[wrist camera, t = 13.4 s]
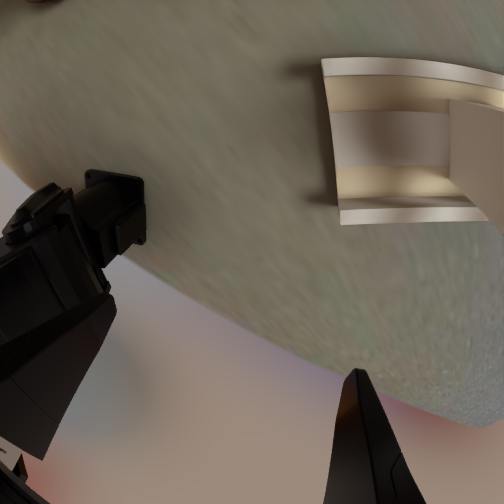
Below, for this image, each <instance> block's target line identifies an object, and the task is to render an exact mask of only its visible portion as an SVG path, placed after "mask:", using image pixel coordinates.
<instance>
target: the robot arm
mask: <svg viewBox="0 0 504 504" xmlns="http://www.w3.org/2000/svg"><path fill="white" fill-rule="evenodd" d="M85 181H86V188H85V189H83V190H82V191H80V192H79V193H77V194H76V195H74V194H73V191H72V188H67V189H61V187H58V186H57V185H56V184H55V183H54V182H52V183H49V184H48V185H46V186H44V187H43V188H41V189H39V190H38V191H36V192H35V193H33V194H32V195H31V196H30V197H29V198H28V199H27V200H26V201H25V202H24V203H23V204H22V205H21V206H20V207H19V208H18V209H17V210H16V212H15V214H14V215H13V216H12V218H11V219H10V220H9V222H8V223H7V225H6V226H5V228H4V229H3V231H2V234H3V237H2V238H0V504H50V503H49V502H47V501H46V500H45V499H43V498H42V497H41V496H40V495H38V494H37V493H36V492H35V491H33V490H32V489H31V488H30V487H29V486H27V485H26V484H25V482H26V480H27V478H28V475H27V472H26V468H25V464H24V460H23V457H22V451H25V452H27V453H28V454H30V455H32V456H34V457H36V458H38V459H40V460H43V458H44V456H45V454H46V452H47V450H48V447H49V445H50V443H51V441H52V439H53V437H54V435H55V433H56V430H57V428H58V426H59V424H60V422H61V420H62V418H63V416H64V414H65V412H66V410H67V408H68V406H69V404H70V402H71V400H72V398H73V396H74V394H75V393H76V391H77V389H78V387H79V385H80V383H81V381H82V380H83V378H84V376H85V374H86V372H87V371H88V369H89V367H90V365H91V364H92V362H93V360H94V358H95V357H96V355H97V353H98V351H99V350H100V348H101V346H102V344H103V342H104V339H105V337H106V335H107V333H108V331H109V329H110V326H111V324H112V322H113V320H114V318H115V316H116V312H117V309H116V305H115V301H114V297H113V296H112V295H111V294H109V292H110V289H111V285H110V283H109V281H107V279H106V277H105V275H104V273H103V271H102V269H101V268H105V267H106V266H107V265H108V264H109V263H110V262H111V261H112V260H113V259H114V258H115V257H116V256H117V255H122V254H123V253H124V252H125V251H126V250H127V249H128V248H129V247H130V246H131V245H132V244H133V243H134V244H138V245H143V244H144V243H145V242H146V207H145V203H144V181H143V180H142V179H141V178H140V177H135V176H129V175H123V174H117V173H111V172H105V171H98V170H92V169H90V170H88V171H86V173H85ZM137 182H138V183H139V185H137ZM73 195H74V196H73ZM140 239H141V240H142V241H141V240H140ZM323 504H426V502H425V500H424V498H423V496H422V494H421V492H420V491H419V489H418V487H417V485H416V483H415V481H414V479H413V477H412V475H411V473H410V471H409V469H408V466H407V464H406V461H405V459H404V457H403V454H402V452H401V449H400V447H399V444H398V442H397V440H396V437H395V435H394V432H393V430H392V428H391V425H390V423H389V421H388V418H387V416H386V414H385V411H384V409H383V407H382V405H381V402H380V400H379V398H378V396H377V393H376V391H375V389H374V387H373V385H372V383H371V380H370V378H369V376H368V374H367V372H366V371H365V370H364V369H358V368H355V369H353V370H352V372H351V373H350V374H349V375H348V376H347V378H346V379H345V381H344V383H343V388H342V393H341V398H340V403H339V408H338V413H337V417H336V422H335V430H334V438H333V447H332V454H331V461H330V468H329V474H328V481H327V486H326V492H325V498H324V502H323Z"/></svg>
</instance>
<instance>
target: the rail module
mask: <svg viewBox="0 0 504 504" xmlns="http://www.w3.org/2000/svg"><path fill="white" fill-rule="evenodd" d="M449 115H450V170H449V181H451V182H452V183H453V184H454V185H455V186H456V187H457V188H458V189H459V190H460V191H461V192H462V193H464V194H465V195H466V196H467V197H468V198H469V199H470V200H471V201H472V202H473V203H474V204H475V205H476V206H477V207H478V208H479V209H480V210H481V211H482V212H483V213H484V214H485V216H486V217H487V218H488V219H489V220H490V221H491V222H492V223H493V224H494V225H495V226H496V227H497V229H498V230H499V231H500V232H501V233H502V234H503V236H504V109H503V108H500V107H496V106H491V105H486V104H480V103H474V102H468V101H461V100H453V99H449Z"/></svg>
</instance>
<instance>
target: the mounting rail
mask: <svg viewBox="0 0 504 504" xmlns="http://www.w3.org/2000/svg"><path fill="white" fill-rule="evenodd" d="M321 68H322V73H323V79H324V85H325V91H326V97H327V104H328V111H329V118H330V125H331V133H332V142H333V151H334V160H335V171H336V183H337V197H338V209H339V217H340V225H350V224H375V223H403V222H441V221H490V220H489V219H488V218H487V217H486V216H485V214H484V213H483V212H482V211H481V210H480V209H479V208H478V207H477V206H476V205H475V204H474V203H473V202H472V201H471V200H470V199H469V198H468V197H467V196H466V195H465V194H464V193H462V192H461V191H460V190H459V189H458V188H457V187H456V186H455V185H454V184H453V183H452V182H451V181H449V170H450V115H449V99H453V100H461V101H468V102H474V103H480V104H486V105H491V106H496V107H500V108H503V109H504V76H503V75H500V74H496V73H492V72H488V71H484V70H480V69H475V68H470V67H465V66H460V65H454V64H448V63H441V62H434V61H425V60H415V59H402V58H380V57H352V58H329V59H321Z"/></svg>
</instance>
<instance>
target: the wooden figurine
mask: <svg viewBox="0 0 504 504" xmlns="http://www.w3.org/2000/svg"><path fill="white" fill-rule="evenodd" d="M26 1H28V2H33V3H36V2H37V3H43V2H48V1H51V0H26Z"/></svg>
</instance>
